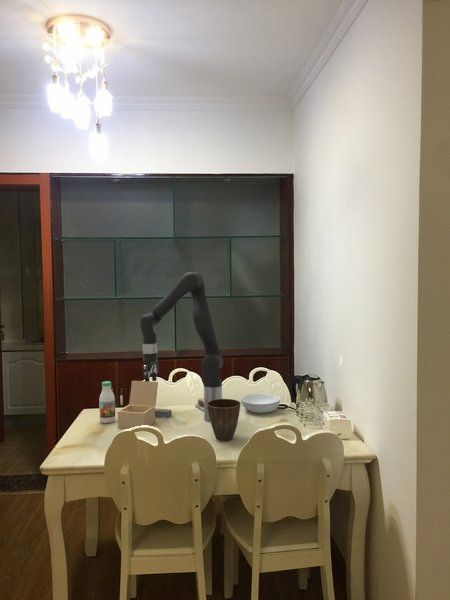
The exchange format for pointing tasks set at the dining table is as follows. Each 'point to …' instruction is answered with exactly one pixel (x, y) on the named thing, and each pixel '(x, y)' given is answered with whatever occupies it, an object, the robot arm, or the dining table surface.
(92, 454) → the dining table surface
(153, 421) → the box
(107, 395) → the milk bottle
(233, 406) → the plant pot
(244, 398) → the serving bowl
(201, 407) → the packaged product
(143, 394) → the lid
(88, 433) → the dining table surface
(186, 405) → the dining table surface
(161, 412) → the grey rectangular bar
